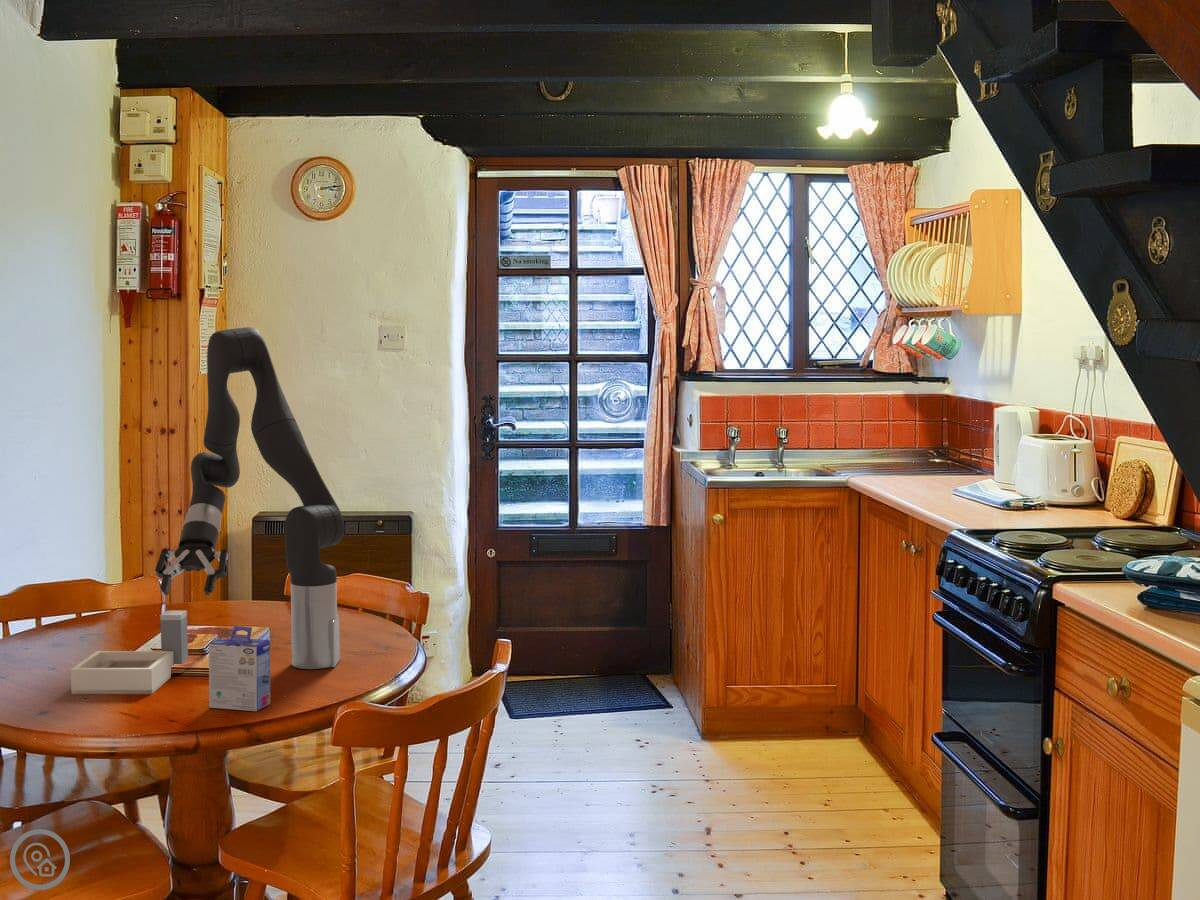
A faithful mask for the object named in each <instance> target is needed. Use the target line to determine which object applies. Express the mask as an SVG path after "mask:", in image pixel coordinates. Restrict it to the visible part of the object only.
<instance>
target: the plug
mask: <svg viewBox="0 0 1200 900" xmlns="http://www.w3.org/2000/svg"><path fill="white" fill-rule="evenodd" d="M188 639H189V638H188V610H170V609H169V610H167V609H166V610H165V611H164V612H162V613H161V614H160V649H161V650H160V651H173V660H174V664H183V663H184V662H185V661H186V660H187V659H188V660H189V645H188V644H189V640H188Z"/></svg>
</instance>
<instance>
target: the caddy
mask: <svg viewBox="0 0 1200 900" xmlns="http://www.w3.org/2000/svg"><path fill="white" fill-rule="evenodd" d="M173 665H174V660H173V651H161V650H96V651H95V652H94V653H92V654H91V655H89V656H88V657H86V658H85V659H84V660H82V661H81V662H79V663H78V664H77V665H75V666H73V667H72V668H71V669H70V683H71V684H70V685H71V695H154V694H155V692H156V691H157V690H158V689H160V688H161V687H162V686H163V685H165V683H166V682H167V681H169V680H170V679H171V678H172V677H171V668H172V666H173Z"/></svg>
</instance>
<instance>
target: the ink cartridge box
mask: <svg viewBox="0 0 1200 900" xmlns="http://www.w3.org/2000/svg"><path fill="white" fill-rule="evenodd" d="M252 629H253V627H249V626H238V625H235V626H234V627H233V630H232V633H231V637H221V638H218V639H216V640H214V641H212V642H210V643H209V644H208V686H209V688H208V692H209V693H208V694H209V695H208V698H209V699H208V700H209V701H208V702H209V704H208V708H210V709H221V710H222V709H223V710H232V711H233V710H235V711H246V712H247V711H248V712H259V710H261V709H264V708H265V707H268V706H270V705H271V698H272V697H271V696H272V695H271V640H270V639H260V638H259V639H258V638H257V639H256V638H251V636H252ZM239 631H243V632H246V633H247V634H237V632H239Z"/></svg>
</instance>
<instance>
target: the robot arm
mask: <svg viewBox="0 0 1200 900" xmlns="http://www.w3.org/2000/svg"><path fill="white" fill-rule="evenodd" d="M266 343H267V342H265V340H264V337H263V335H262V334H261V333H260V332H259V330H258V329H257V328H254V327H253V326H251V327H250V326H246V327H237V328H230V329H229V328H228V329H221V330H217V331H215V332H213V333H212V334H211V335H210V337H209V339H208V343H207V351H206V368H207V369H206V370H207V371H206V372H207V375H206V376H207V378H206V379H207V382H206V384H207V401H208V402H207V415H206V423H205V429H204V435H203V447H205V449H206V450H207V451H209V452H205V451H202V452H199V453H197V454H196V455H195V456H194V457H193V458H192V460H191V464H190V473H191V482H192V495H191V499H190V503H189V506H188V511H187V512H186V514H185V518H184V522H183V526H182V531H181V534H180V539H179V542H178V547H177V549H175V550H168V549H167V548H166V547H164V548H162V549H161V550H160V553H159V554H160V555H159V557H158V560H157V564H156V567H155V569H154V570H155V573H156V575H157V577H158V578H159V579H161V583H160V590H161V592H162V593H163V594H164V595H165V596H168V595H170V591H171V586H172V582H173V579H174V578H175V577H176V576H179V575H180V574H182V573H183V572H184V571H185V572H191V571H195V572H201V571H202V570H204V571H205V572H206V574H207V577H206V578H205V579H206V580H205V585H204V589H203V590H204V594H205V595H206V596H210V595H211V593H213V592H214V591H215V585H216V581H217V580H218V579H226V578H227V575H228V567H229V566H228V565H229V559H230V556H229V552H228V550H227V549H226V548H222V549H220V551H216V547H217V543H218V539H219V536H220V535H219V534H220V533H221V525H222V516H223V510H224V506H225V502H226V494H225V493H224V491H223V490H222V489H221V488H231V487H234V486H235V485H236V484H237V482H238V481H239V478H240V474H241V469H240V468H241V467H240V462H239V461H240V460H239V458H238V451H237V449H238V447H237V443H238V437H239V433H240V432H239V430H240V426H241V417H240V411H239V409H238V406H237V405H236V402H235V401H234V399H233V398H232V396H231V394H230V393H229V389H228V379H229V377H230V375H231V374H235V373H236V374H237V373H243V372H249V373H250V375H251V377H252V379H253V382H254V385H255V386H254V387H255V390H256V391H255V392H256V396H255V397H256V398H255V403H254V407H253V411H252V416H251V424H250V428H251V434H252V437H253V439H254V441H255V444H256V446H257V448H258V451H259V452H260V455H261V456H262V459H263V460H264V461H265V463H266V464H267V465H268V466H269V467H270V468H271V469H272V470H273V471H274V472H275V473H277V475H279V476H280V477H281V478H282V479H283V480H284V481H285V482H286V483H288V484H289V486H291V487H292V489H293V490H294V491H295V493H296V494H297V495H298V497H299V499H300V502H301V503H302V505H299V506H296V507H293V508H291V509H290V510H289V511H288V513H287V515H286V518H285V521H284V545H285V557H286V558H285V560H286V562H285V563H286V568H287V570H288V573H289V576H290V615H291V616H290V618H291V619H290V620H291V621H290V622H291V629H290V630H291V632H290V633H291V665H292V666H293V667H294V668H297V669H302V670H318V669H319V670H320V669H326V668H335V667H336V666H337V664H338V663H339V661H340V660H341V656H340V654H341V652H340V651H341V649H340V648H341V647H340V641H341V640H340V637H341V636H340V615H339V614H338V599H337V597H338V594H337V593H338V589H337V588H338V581H337V568H336V567H335V566H333V565H332V564H331V565H330V564H326V563H324V562H323V561H322V560H321V554H320V549H323V548H324V549H325V548H328V547H333V546H335V545H338V544H339V543H341V542H342V541H343V540H342V539H343V538H344V536H345V529H346V528H345V521H344V518H343V515H342V511H341V510H340V508H339V506H338V504H337V502H336V501H335V499H334V497H333V495H332V494H331V492H330V490H329V488H328V487H327V485H326V483H325V482H324V479H323V478H322V475H321V474H320V472H319V470H318V468H317V466H316V463H315V461H314V459H313V457H312V456H311V453H310V450H309V448H308V447H307V444H306V442H305V439H304V437H303V436H304V435H302V434H303V433H302V432H301V429H300V427H299V425H298V422H297V421H296V419H295V416H294V414H293V413H292V410H291V408H290V405H289V404H288V401H287V399H286V397H285V394H284V392H283V389H282V387H281V384H280V382H279V379H278V376H277V373H276V370H275V368H274V364H273V361H272V358H271V355H270V352H269V348H268V347H267V344H266ZM219 487H220V488H219ZM174 558H175V559H174ZM216 558H217V561H218V568H217V569H214V567H213V566H212V564H211V563H212V562H213V561H214V560H215V559H216ZM173 559H174V560H173ZM169 563H170V565H169V566H168V564H169Z"/></svg>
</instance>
